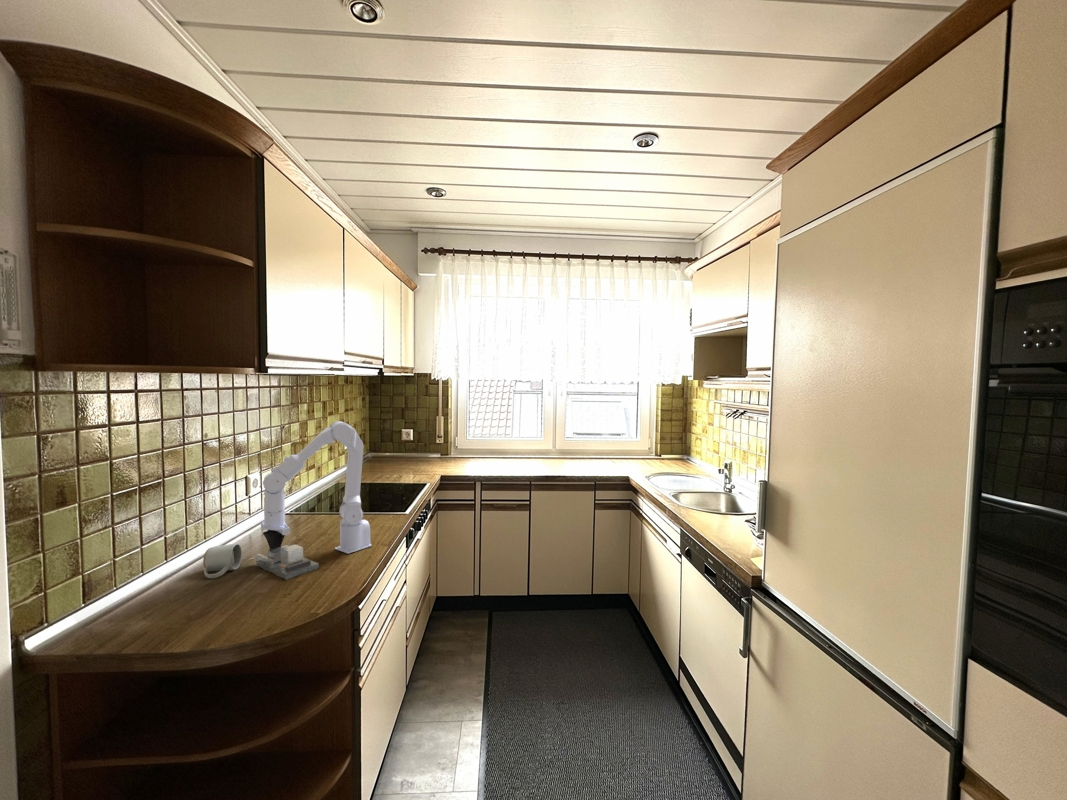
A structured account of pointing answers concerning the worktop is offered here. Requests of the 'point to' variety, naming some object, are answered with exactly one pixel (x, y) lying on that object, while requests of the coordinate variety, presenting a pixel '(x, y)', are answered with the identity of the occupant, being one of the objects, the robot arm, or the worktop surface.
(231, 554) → the ceramic mug
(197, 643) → the worktop surface
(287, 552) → the white rectangular block
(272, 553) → the block
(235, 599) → the worktop surface
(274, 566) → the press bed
